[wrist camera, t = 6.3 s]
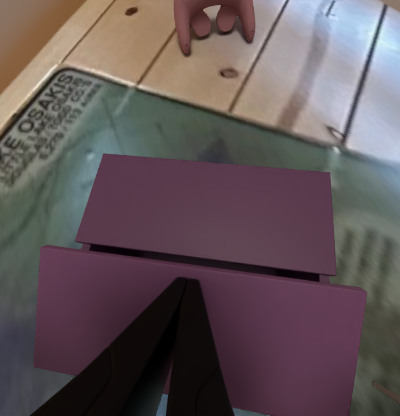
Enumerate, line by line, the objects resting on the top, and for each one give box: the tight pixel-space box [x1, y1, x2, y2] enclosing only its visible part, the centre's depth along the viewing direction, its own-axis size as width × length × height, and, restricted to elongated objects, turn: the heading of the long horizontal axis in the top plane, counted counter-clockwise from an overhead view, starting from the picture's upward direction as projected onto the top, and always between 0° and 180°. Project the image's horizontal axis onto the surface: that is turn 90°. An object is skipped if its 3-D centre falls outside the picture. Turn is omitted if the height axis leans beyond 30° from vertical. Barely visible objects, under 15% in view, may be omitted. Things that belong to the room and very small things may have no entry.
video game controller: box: [174, 0, 255, 54], centre depth 27 cm, size 10×5×7 cm, turn 101°
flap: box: [34, 245, 367, 416], centre depth 9 cm, size 5×13×1 cm, turn 82°
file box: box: [75, 154, 337, 283], centre depth 15 cm, size 11×13×9 cm
